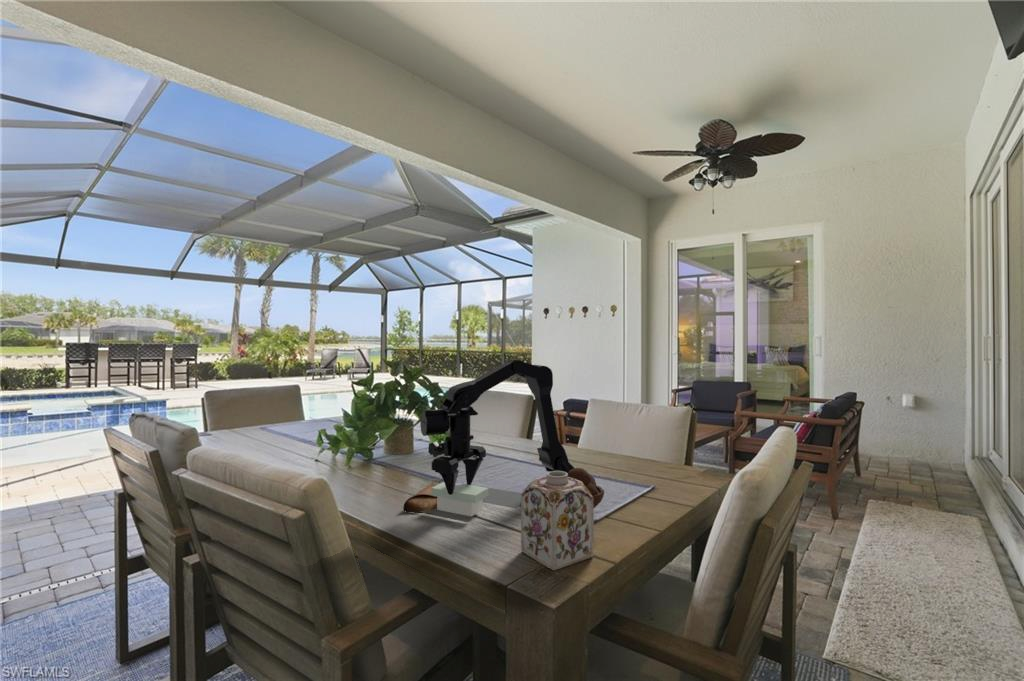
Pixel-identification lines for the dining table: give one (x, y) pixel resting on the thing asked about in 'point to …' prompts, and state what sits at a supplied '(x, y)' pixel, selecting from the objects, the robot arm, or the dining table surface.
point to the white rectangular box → (459, 506)
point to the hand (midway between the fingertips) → (460, 489)
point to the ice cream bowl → (588, 484)
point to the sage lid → (461, 492)
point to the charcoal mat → (503, 497)
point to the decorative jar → (557, 520)
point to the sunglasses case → (421, 501)
